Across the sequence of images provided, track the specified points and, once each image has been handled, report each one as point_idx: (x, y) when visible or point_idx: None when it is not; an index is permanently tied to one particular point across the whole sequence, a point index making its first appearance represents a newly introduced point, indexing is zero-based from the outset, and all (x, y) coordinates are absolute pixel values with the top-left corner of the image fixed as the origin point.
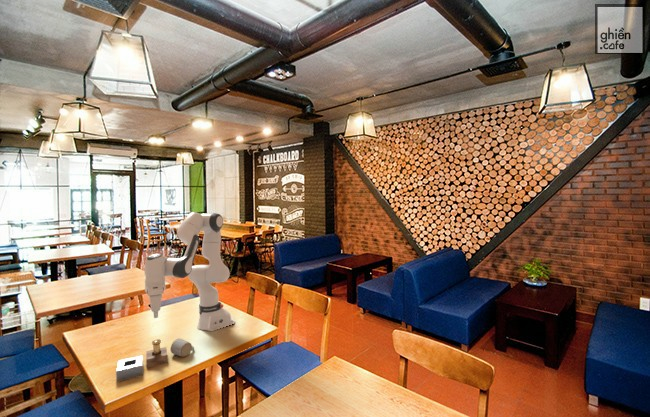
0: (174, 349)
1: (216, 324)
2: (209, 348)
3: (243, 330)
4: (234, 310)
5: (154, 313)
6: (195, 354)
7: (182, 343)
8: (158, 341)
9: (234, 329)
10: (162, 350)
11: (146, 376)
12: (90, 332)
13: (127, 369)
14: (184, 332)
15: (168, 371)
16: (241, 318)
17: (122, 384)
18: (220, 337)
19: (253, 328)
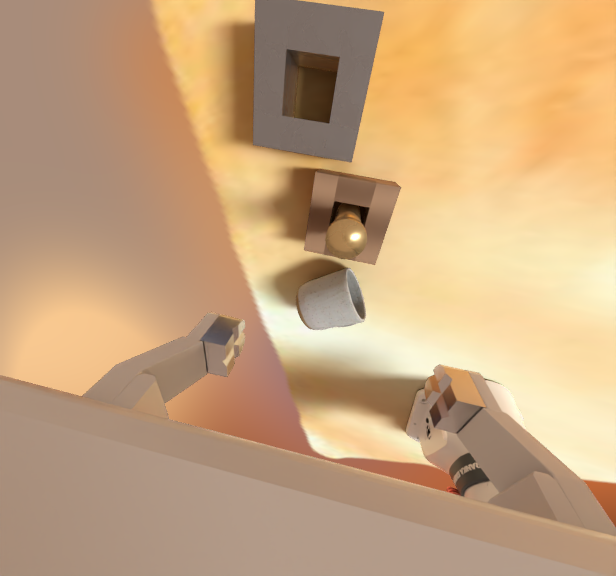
0: (325, 280)
1: (429, 415)
2: (316, 348)
3: (353, 425)
4: None
5: (159, 354)
6: None
7: (310, 312)
8: (335, 247)
9: (377, 420)
10: None
11: (255, 157)
12: None
13: (255, 69)
14: (497, 343)
15: (250, 228)
16: None
17: (242, 53)
18: (359, 386)
19: (346, 438)
